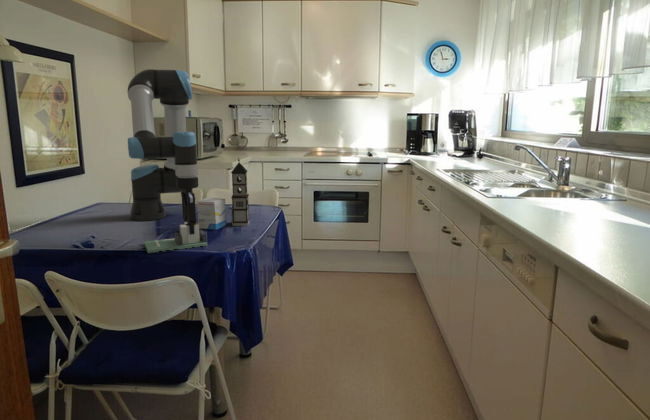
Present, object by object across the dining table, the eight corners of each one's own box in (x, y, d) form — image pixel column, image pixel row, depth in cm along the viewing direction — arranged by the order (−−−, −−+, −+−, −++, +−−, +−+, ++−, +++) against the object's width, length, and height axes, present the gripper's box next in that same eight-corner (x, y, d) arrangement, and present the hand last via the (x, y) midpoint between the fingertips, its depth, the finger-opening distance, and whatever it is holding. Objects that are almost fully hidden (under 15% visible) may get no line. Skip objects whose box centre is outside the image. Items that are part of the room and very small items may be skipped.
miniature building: (248, 225, 192) (246, 154, 186) (231, 226, 192) (228, 154, 185) (249, 221, 199) (247, 152, 193) (233, 222, 199) (230, 152, 192)
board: (144, 244, 165) (143, 233, 164) (200, 237, 174) (200, 227, 173) (147, 253, 154) (147, 241, 153) (207, 245, 163) (207, 235, 162)
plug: (180, 241, 165) (179, 222, 164) (197, 239, 168) (196, 220, 166) (182, 243, 162) (181, 224, 160) (199, 241, 164) (198, 223, 163)
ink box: (227, 225, 193) (225, 198, 190) (216, 230, 185) (214, 201, 182) (209, 223, 196) (208, 196, 193) (197, 228, 188) (196, 200, 185)
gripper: (171, 174, 166) (175, 236, 171) (179, 180, 151) (184, 248, 155) (192, 173, 169) (196, 234, 174) (202, 178, 154) (206, 245, 158)
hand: (190, 240), depth 165 cm, fingers open, 5 cm apart
